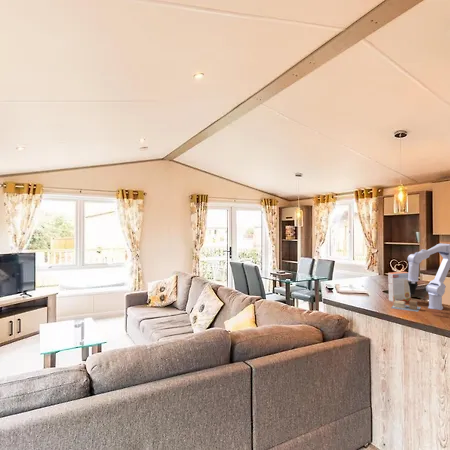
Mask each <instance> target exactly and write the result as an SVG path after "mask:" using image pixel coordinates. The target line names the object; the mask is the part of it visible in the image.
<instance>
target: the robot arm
mask: <svg viewBox="0 0 450 450" xmlns="http://www.w3.org/2000/svg"><path fill="white" fill-rule="evenodd" d="M436 253H439V255H440V256H441V257H442V260H441V262H440V265H439V267H438V270H437V272H436V274H435V277H434V279H432V280H430V281H429V283H428V284H427V285H426V286H425V290H426V292H427V293H428V306H427V309H431V310H438V311H442V310H443V309H444V306H443V295H444V294H445V293H446V285H445V283H444V282H445V280H446V278H447V275H448V273H449V271H450V243H442V242H441V243H438V244H436V245H434V246H432V247H431V248H429V249H424V248H422V249H421V250H420V251H416V252H414V253H411V254H409V255H408V256H407V258H406V260H407V261H408V272H409V273H408V279H407V278H406V280H409V281H408V284H409V288H410V295H415V294H416V290H417V287H418V286H419V284H418V282H419V271H420V263H422V261H424V260H426V259H428V258H430V256H431V255H433V254H436Z"/></svg>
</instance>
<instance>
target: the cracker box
mask: <svg viewBox="0 0 450 450" xmlns="http://www.w3.org/2000/svg"><path fill="white" fill-rule="evenodd" d="M408 273H409V271H408V272H407V271H396V272H395V271H394V272H388V273H387V281H388V285H387V286H388V301H389V302H392V303H394V301H404V302H409V301H410V300H411V299H412V298H411V294H410V288H409V284H408V281H409V280H406V278H407V279H408Z"/></svg>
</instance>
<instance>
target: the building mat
mask: <svg viewBox="0 0 450 450" xmlns="http://www.w3.org/2000/svg"><path fill="white" fill-rule="evenodd" d="M421 308H422V307H421V306H417V310H412V309H409V305H408V304H405V307H404V308H400V307H394V304H393V305H392V306H391V307H390V309H394V310H400V311H401V310H402V311H409V312H416V313H417V312H419V311H420V309H421Z"/></svg>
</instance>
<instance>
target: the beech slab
mask: <svg viewBox="0 0 450 450" xmlns="http://www.w3.org/2000/svg"><path fill="white" fill-rule="evenodd" d="M393 305H394V307H400V308H404V307H405V305H406V301H394V302H393Z"/></svg>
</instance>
